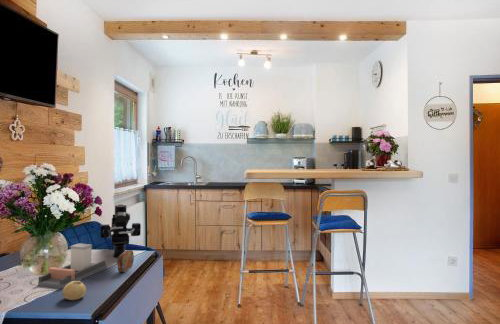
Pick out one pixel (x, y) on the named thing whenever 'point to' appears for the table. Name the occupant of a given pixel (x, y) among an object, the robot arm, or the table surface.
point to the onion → (74, 290)
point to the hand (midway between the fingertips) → (121, 235)
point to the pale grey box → (80, 256)
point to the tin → (125, 261)
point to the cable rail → (57, 281)
